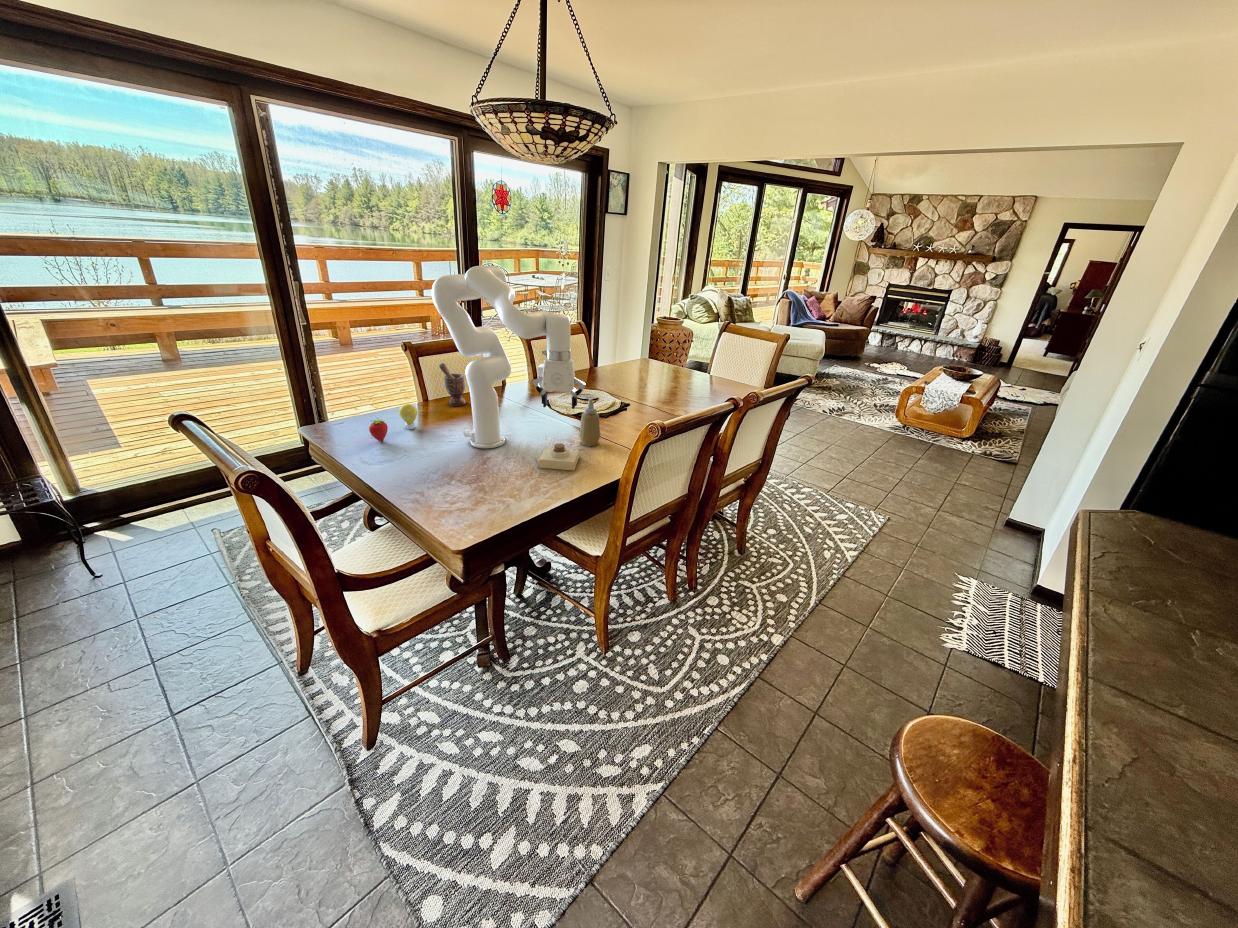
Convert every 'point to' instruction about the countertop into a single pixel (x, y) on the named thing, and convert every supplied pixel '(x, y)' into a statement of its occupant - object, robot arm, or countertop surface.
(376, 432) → the strawberry
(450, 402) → the mortar and pestle
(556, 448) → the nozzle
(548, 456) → the beige push button box
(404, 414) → the light bulb
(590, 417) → the squeeze bottle
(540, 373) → the white packaging box
